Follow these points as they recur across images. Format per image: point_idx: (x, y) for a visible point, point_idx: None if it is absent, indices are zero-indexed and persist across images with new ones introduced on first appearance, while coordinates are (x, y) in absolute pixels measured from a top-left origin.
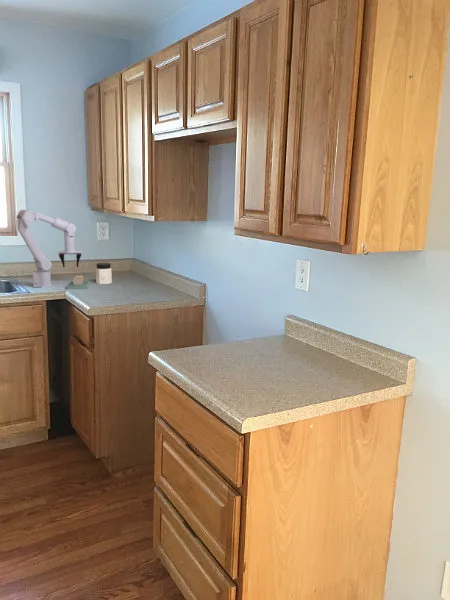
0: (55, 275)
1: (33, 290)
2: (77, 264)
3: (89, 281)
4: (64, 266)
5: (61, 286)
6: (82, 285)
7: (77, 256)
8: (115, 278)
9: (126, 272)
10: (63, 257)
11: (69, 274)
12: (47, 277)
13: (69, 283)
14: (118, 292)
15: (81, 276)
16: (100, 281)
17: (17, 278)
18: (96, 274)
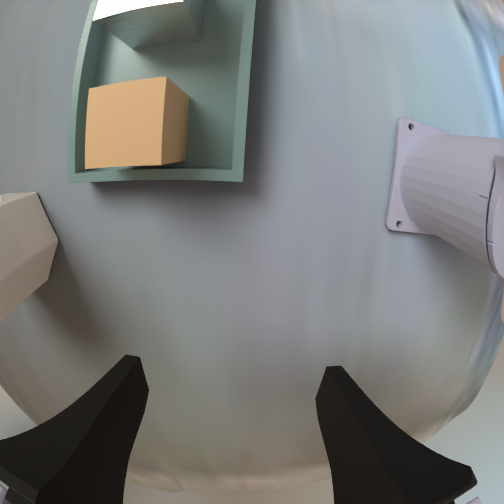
0: (321, 453)
1: (465, 56)
2: (111, 376)
3: (70, 175)
4: (321, 387)
5: (317, 136)
6: (127, 44)
7: (26, 472)
8: (38, 368)
9: None
10: (374, 497)
11: (262, 466)
12: (463, 142)
13: (241, 47)
14: (5, 4)
15: (97, 133)
16: (17, 197)
17: (462, 388)
18: (12, 259)
